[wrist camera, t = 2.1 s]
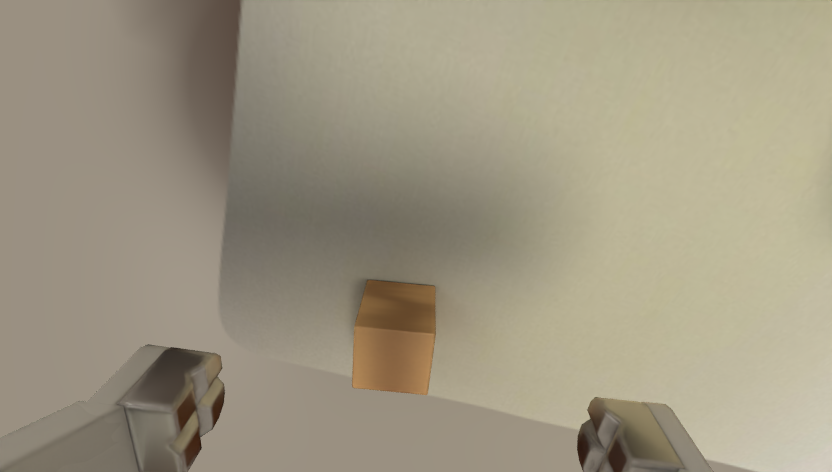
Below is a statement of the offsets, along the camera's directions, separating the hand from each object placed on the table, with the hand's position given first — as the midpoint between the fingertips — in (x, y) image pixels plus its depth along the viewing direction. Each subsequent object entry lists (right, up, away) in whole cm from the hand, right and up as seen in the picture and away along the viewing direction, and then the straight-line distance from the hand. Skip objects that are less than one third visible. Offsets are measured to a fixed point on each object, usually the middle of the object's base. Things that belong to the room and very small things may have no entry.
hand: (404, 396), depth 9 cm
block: (-1, -1, +19) cm, 19 cm away
